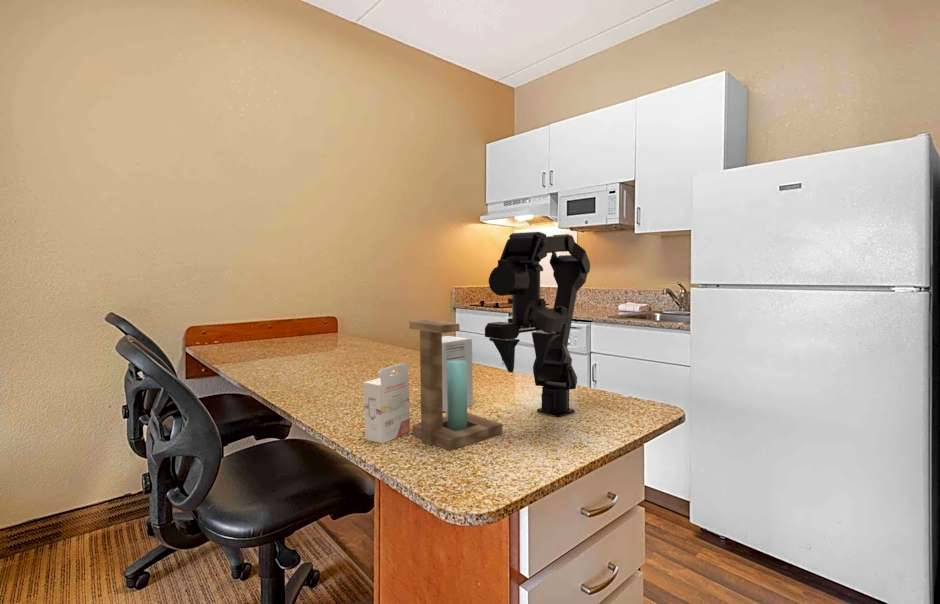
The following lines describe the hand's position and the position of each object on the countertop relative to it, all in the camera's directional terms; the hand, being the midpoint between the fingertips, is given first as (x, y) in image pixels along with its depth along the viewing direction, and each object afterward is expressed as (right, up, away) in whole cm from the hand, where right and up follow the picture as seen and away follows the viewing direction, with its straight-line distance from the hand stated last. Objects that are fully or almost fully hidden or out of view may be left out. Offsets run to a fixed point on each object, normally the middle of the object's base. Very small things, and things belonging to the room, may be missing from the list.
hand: (526, 369), depth 99 cm
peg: (-14, -13, -1) cm, 19 cm away
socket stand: (-14, -13, -1) cm, 19 cm away
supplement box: (-17, -12, +20) cm, 29 cm away
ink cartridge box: (-28, -14, -2) cm, 31 cm away
